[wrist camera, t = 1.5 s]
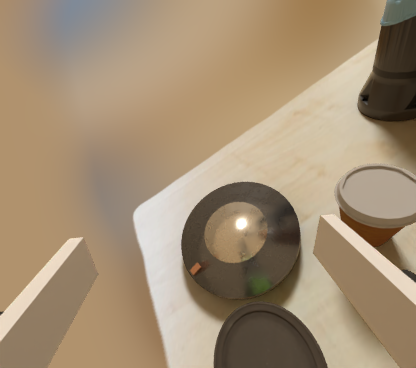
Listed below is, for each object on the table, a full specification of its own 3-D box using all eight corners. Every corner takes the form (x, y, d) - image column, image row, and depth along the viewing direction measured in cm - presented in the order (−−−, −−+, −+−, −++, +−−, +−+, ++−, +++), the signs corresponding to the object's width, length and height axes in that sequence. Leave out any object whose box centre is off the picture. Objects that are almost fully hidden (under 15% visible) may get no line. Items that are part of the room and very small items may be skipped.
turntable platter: (236, 171, 51) (233, 166, 50) (330, 223, 34) (330, 218, 33) (167, 239, 47) (162, 235, 45) (236, 336, 30) (232, 336, 29)
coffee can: (245, 316, 33) (214, 302, 23) (313, 316, 29) (310, 299, 19) (251, 409, 26) (211, 445, 16) (339, 423, 23) (356, 479, 13)
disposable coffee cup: (411, 261, 29) (449, 224, 20) (333, 253, 33) (339, 220, 25) (393, 205, 34) (418, 157, 26) (328, 205, 38) (331, 164, 30)
